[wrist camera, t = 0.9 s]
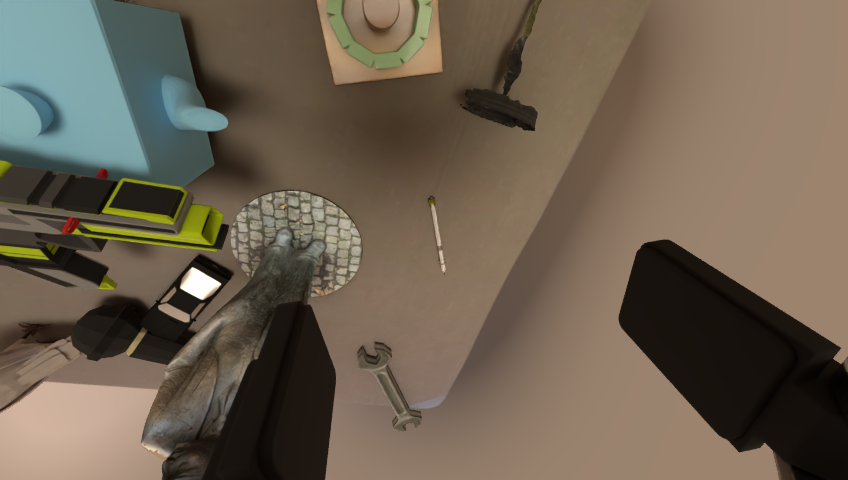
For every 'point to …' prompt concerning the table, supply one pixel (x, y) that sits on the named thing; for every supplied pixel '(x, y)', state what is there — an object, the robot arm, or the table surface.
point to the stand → (380, 39)
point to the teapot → (101, 92)
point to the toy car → (185, 299)
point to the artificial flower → (506, 91)
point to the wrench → (389, 385)
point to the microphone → (121, 336)
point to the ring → (388, 58)
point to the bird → (31, 365)
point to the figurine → (247, 320)
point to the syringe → (437, 232)
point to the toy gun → (92, 222)
